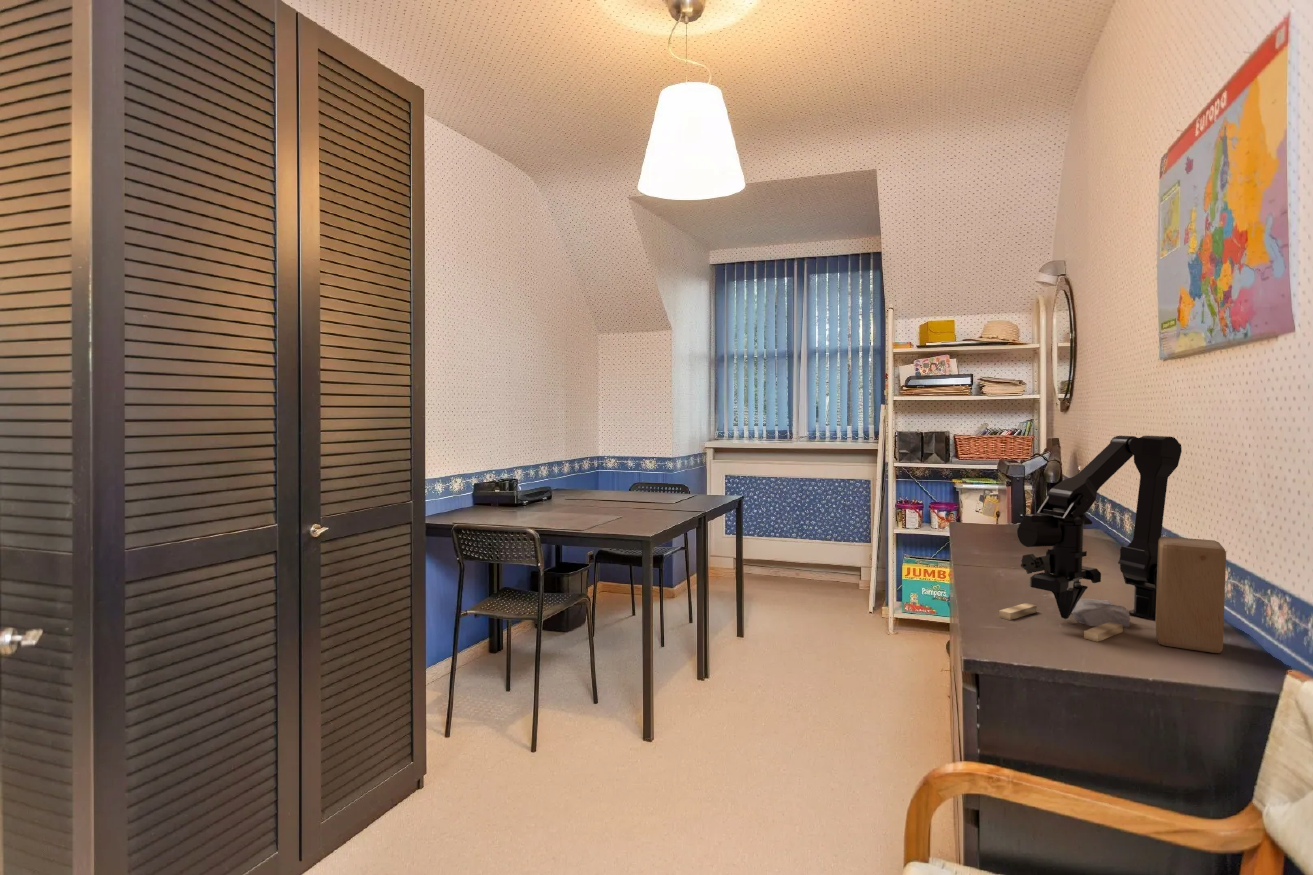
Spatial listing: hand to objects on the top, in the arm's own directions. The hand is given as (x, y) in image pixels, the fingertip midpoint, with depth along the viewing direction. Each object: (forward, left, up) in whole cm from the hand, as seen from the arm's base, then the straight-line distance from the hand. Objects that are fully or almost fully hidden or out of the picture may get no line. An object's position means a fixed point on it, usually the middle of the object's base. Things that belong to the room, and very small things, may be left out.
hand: (1064, 618), depth 155 cm
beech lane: (+3, 0, -1) cm, 3 cm away
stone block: (-8, +2, -1) cm, 8 cm away
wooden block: (-5, +21, -1) cm, 21 cm away
